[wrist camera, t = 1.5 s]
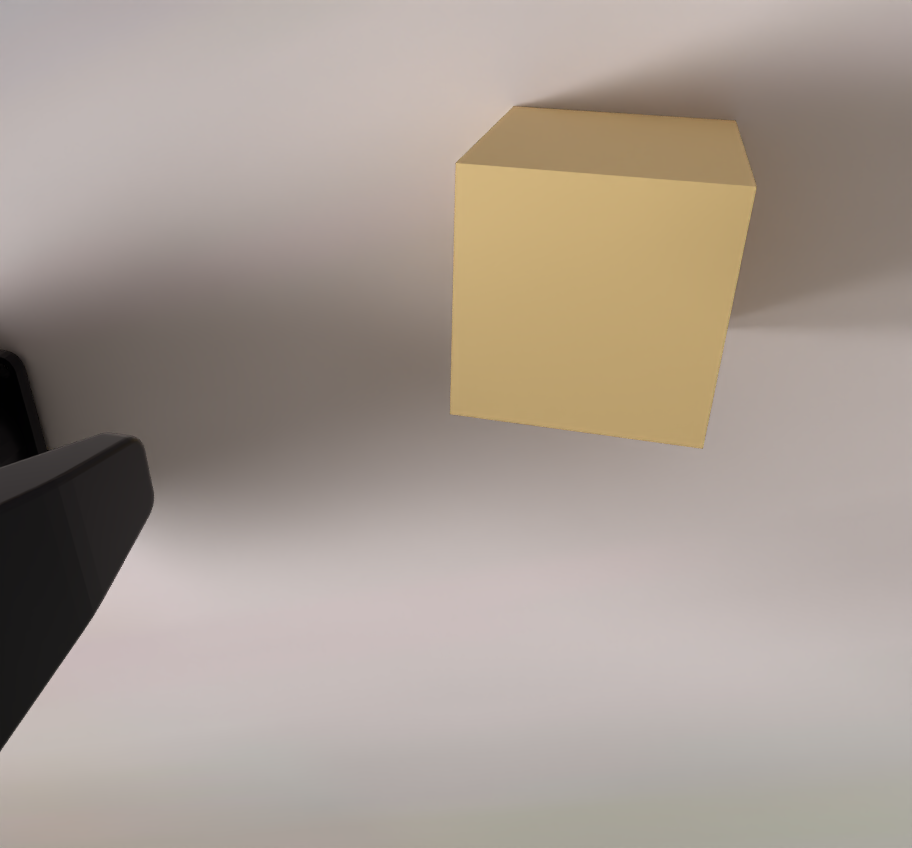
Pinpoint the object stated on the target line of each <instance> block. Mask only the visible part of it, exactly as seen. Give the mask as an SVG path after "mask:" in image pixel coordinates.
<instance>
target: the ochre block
mask: <svg viewBox="0 0 912 848" xmlns="http://www.w3.org/2000/svg"><path fill="white" fill-rule="evenodd" d="M756 188H757V186H756V183H755V180H754V177H753V173H752V170H751V167H750V164H749V161H748V158H747V155H746V152H745V148H744V145H743V142H742V139H741V136H740V133H739V130H738V126H737V123H736V121H734V120H718V119H703V118H688V117H672V116H657V115H642V114H626V113H611V112H596V111H580V110H565V109H550V108H534V107H519V106H513V107H512V108H511V109H510V110H509V111H508V112H507V113H506V114H505V115H504V116H503V117H502V118H501V119H500V120H499V121H498V122H497V123H496V124H495V125H494V126H493V127H492V128H491V129H490V130H489V131H488V132H487V133H486V134H485V135H484V136H483V137H482V138H481V139H480V140H479V141H478V142H477V143H476V144H475V145H474V146H473V147H472V148H471V149H470V150H469V151H468V152H466V153H465V154H464V155H463V156H462V157H461V158H460V159H459V160H458V161H457V162H456V172H455V216H454V260H453V304H452V348H451V392H450V414H452V415H460V416H467V417H474V418H482V419H489V420H496V421H504V422H511V423H518V424H526V425H533V426H540V427H548V428H555V429H562V430H570V431H577V432H584V433H592V434H599V435H606V436H614V437H621V438H628V439H636V440H643V441H650V442H658V443H665V444H672V445H680V446H687V447H694V448H702V449H703V445H704V440H705V436H706V431H707V426H708V421H709V416H710V411H711V406H712V402H713V397H714V392H715V387H716V382H717V377H718V372H719V368H720V363H721V358H722V353H723V348H724V343H725V338H726V334H727V329H728V324H729V319H730V314H731V309H732V304H733V300H734V295H735V290H736V285H737V280H738V275H739V270H740V266H741V261H742V256H743V251H744V246H745V241H746V236H747V232H748V227H749V222H750V217H751V212H752V207H753V203H754V198H755V193H756Z"/></svg>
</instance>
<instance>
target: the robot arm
mask: <svg viewBox="0 0 912 848" xmlns="http://www.w3.org/2000/svg"><path fill="white" fill-rule="evenodd" d="M4 365H5V366H6V367H7V368H8V370H7V369H6V367H5V366H4ZM153 502H154V491H153V486H152V482H151V477H150V472H149V467H148V462H147V458H146V453H145V449H144V445H143V444H142V442H141V441H140V440H139V439H138V438H136V437H134V436H129V435H122V434H115V433H102V434H99V435H96V436H93V437H90V438H87V439H84V440H81V441H78V442H75V443H72V444H69V445H66V446H63V447H60V448H57V449H54V450H51V451H48V452H47V449H46V445H45V441H44V438H43V434H42V430H41V427H40V423H39V419H38V415H37V412H36V408H35V404H34V400H33V397H32V393H31V389H30V385H29V382H28V378H27V374H26V371H25V367H24V365H23V363H22V361H21V360H20V359H19V357H18V356H16V355H15V354H13V353H11V352H8V351H3V350H0V751H1V750H2V748H3V747H4V745H5V744H6V743H7V741H8V740H9V738H10V737H11V735H12V734H13V732H14V731H15V730H16V728H17V727H18V725H19V724H20V722H21V721H22V719H23V718H24V717H25V715H26V714H27V712H28V711H29V709H30V708H31V706H32V705H33V704H34V702H35V701H36V699H37V698H38V696H39V695H40V693H41V692H42V691H43V689H44V688H45V686H46V685H47V683H48V682H49V680H50V679H51V678H52V676H53V675H54V673H55V672H56V670H57V669H58V667H59V666H60V665H61V663H62V662H63V660H64V659H65V657H66V656H67V654H68V653H69V652H70V650H71V649H72V647H73V646H74V644H75V643H76V641H77V640H78V639H79V637H80V636H81V634H82V633H83V631H84V630H85V628H86V627H87V625H88V624H89V622H90V621H91V619H92V618H93V616H94V614H95V613H96V611H97V609H98V608H99V606H100V604H101V603H102V601H103V599H104V597H105V596H106V594H107V592H108V590H109V588H110V587H111V585H112V583H113V581H114V579H115V577H116V576H117V574H118V572H119V570H120V568H121V566H122V565H123V563H124V561H125V559H126V557H127V555H128V554H129V552H130V550H131V548H132V546H133V545H134V543H135V541H136V539H137V537H138V535H139V534H140V532H141V530H142V528H143V526H144V524H145V523H146V521H147V519H148V517H149V515H150V513H151V510H152V507H153Z"/></svg>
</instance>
